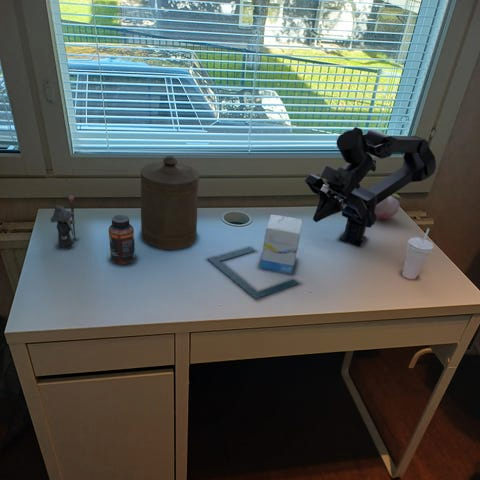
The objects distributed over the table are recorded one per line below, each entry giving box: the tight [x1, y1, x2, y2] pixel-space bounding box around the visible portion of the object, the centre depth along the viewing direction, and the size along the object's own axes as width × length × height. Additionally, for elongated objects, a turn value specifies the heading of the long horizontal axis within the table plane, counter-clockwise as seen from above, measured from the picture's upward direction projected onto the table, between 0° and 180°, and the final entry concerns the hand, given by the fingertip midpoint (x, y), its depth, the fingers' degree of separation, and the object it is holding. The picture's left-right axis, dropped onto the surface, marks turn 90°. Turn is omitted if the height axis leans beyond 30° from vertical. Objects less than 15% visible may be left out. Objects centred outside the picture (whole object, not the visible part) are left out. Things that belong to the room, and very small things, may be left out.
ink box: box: [260, 214, 304, 275], centre depth 121 cm, size 9×8×12 cm
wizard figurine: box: [49, 194, 76, 250], centre depth 118 cm, size 8×6×12 cm
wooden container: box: [140, 155, 200, 250], centre depth 123 cm, size 15×15×22 cm
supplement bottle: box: [108, 214, 136, 266], centre depth 115 cm, size 6×6×11 cm
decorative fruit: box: [374, 192, 403, 220], centre depth 150 cm, size 9×8×10 cm
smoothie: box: [401, 227, 434, 280], centre depth 122 cm, size 6×6×14 cm
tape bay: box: [207, 247, 299, 300], centre depth 120 cm, size 14×20×1 cm
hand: (314, 220), depth 124 cm, fingers closed
